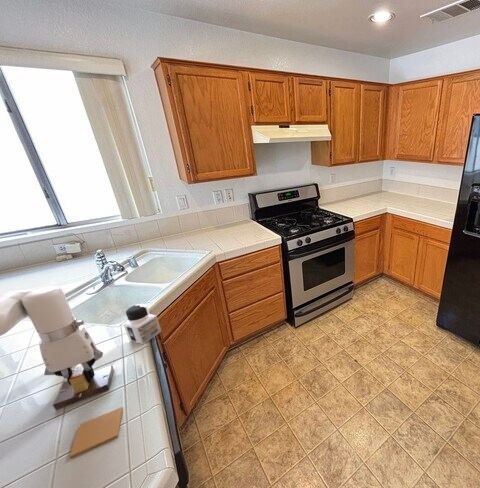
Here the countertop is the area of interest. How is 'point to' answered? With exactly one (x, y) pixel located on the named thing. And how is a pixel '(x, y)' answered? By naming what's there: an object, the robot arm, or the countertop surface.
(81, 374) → the yellow rectangular block
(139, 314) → the container
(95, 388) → the base
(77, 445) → the coaster
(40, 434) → the countertop surface
